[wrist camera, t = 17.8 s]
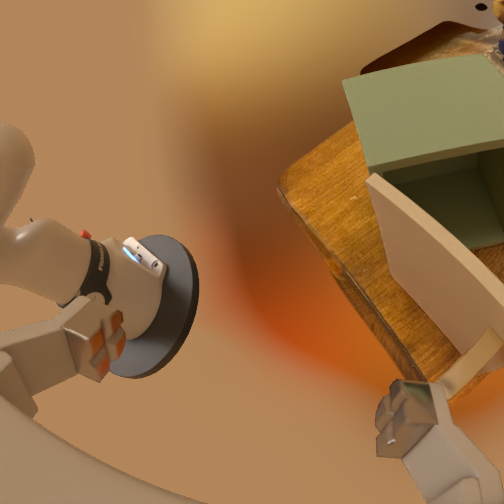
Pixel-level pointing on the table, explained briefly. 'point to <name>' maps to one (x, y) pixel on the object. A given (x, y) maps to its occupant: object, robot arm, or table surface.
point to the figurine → (503, 12)
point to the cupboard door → (442, 283)
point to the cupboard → (438, 140)
